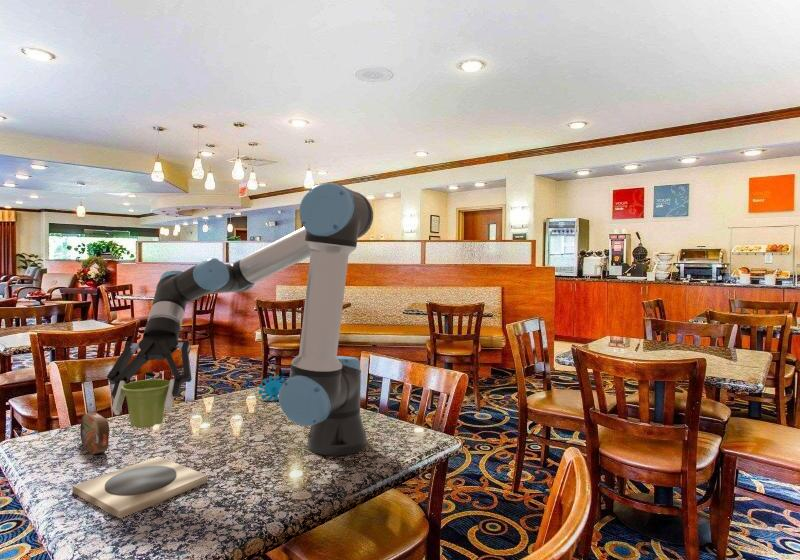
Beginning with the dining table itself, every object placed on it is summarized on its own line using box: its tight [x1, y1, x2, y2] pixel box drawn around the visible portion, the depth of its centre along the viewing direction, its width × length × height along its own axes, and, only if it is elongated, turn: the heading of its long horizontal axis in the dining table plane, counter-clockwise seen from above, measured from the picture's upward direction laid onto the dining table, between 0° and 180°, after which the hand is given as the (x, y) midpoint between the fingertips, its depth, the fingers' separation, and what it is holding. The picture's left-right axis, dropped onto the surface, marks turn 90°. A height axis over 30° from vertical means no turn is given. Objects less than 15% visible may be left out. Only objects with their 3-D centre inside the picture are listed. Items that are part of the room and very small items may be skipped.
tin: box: [79, 412, 110, 455], centre depth 119 cm, size 15×3×8 cm, turn 47°
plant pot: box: [121, 379, 170, 429], centre depth 103 cm, size 9×9×9 cm
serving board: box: [71, 455, 208, 519], centre depth 99 cm, size 18×18×2 cm
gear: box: [258, 374, 286, 402], centre depth 167 cm, size 11×6×10 cm
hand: (141, 410), depth 100 cm, fingers closed on plant pot, 9 cm apart
